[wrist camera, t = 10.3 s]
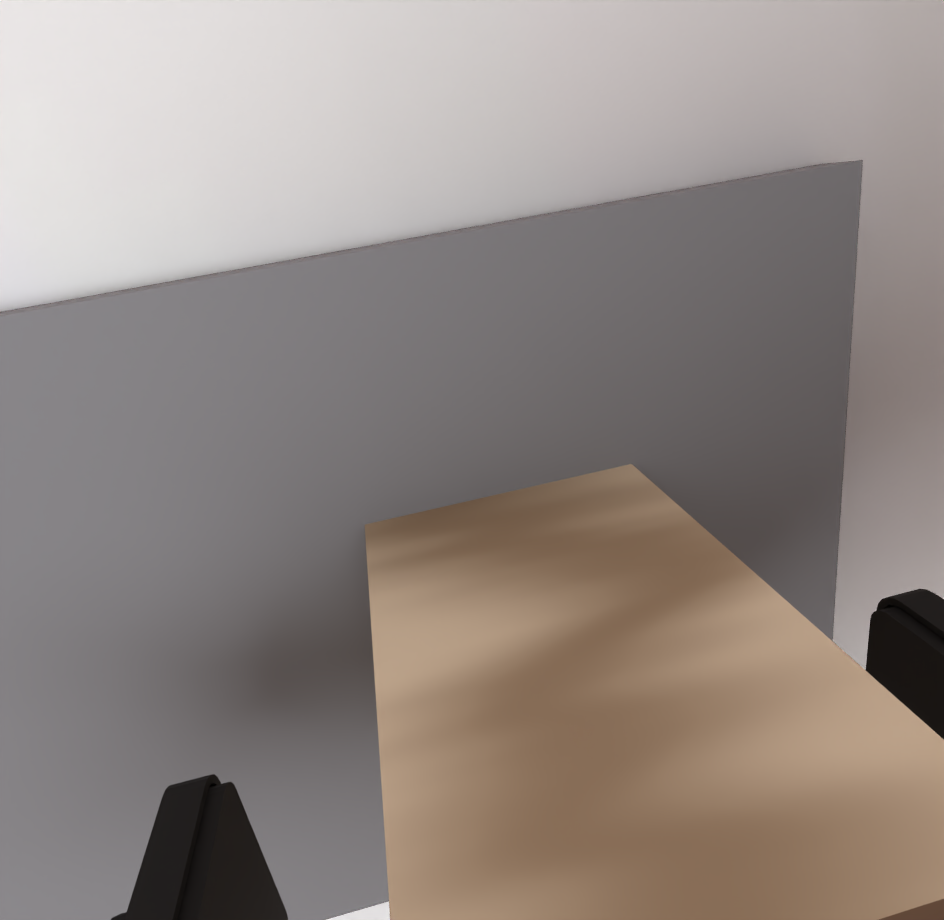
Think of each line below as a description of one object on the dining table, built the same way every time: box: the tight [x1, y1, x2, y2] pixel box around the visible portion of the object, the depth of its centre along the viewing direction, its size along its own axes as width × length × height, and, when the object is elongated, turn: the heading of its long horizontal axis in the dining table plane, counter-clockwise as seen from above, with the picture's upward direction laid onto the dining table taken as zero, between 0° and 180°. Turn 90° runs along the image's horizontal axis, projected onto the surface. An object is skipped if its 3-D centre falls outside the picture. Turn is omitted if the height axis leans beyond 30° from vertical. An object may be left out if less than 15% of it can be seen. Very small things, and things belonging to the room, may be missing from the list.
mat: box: [0, 160, 863, 920], centre depth 13 cm, size 22×14×1 cm, turn 99°
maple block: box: [365, 464, 944, 920], centre depth 8 cm, size 5×5×10 cm
